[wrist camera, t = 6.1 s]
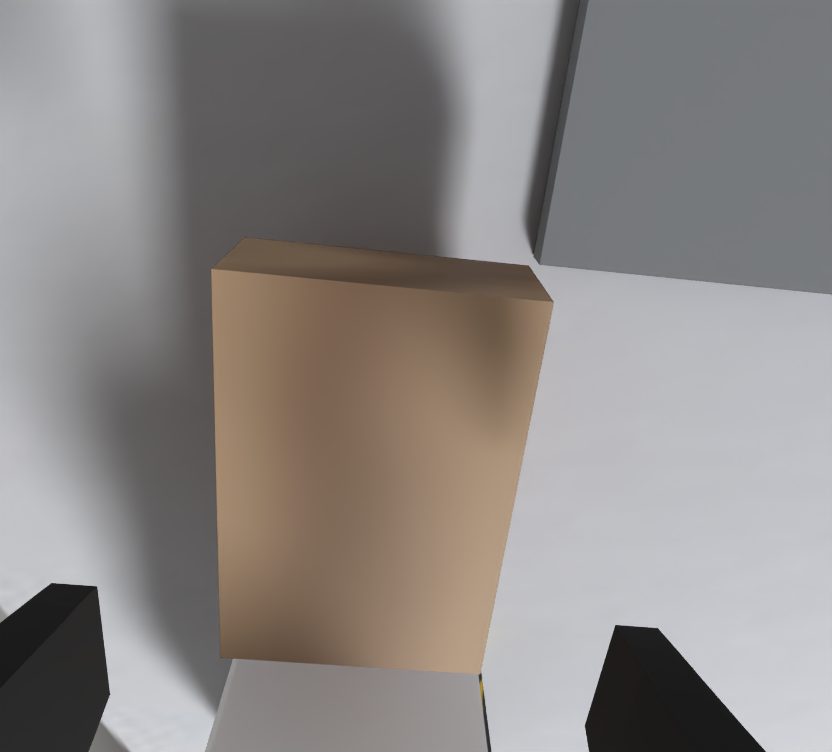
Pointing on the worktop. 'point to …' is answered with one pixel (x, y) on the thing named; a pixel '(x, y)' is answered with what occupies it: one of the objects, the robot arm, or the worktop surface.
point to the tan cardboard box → (367, 450)
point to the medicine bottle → (348, 710)
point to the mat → (695, 143)
